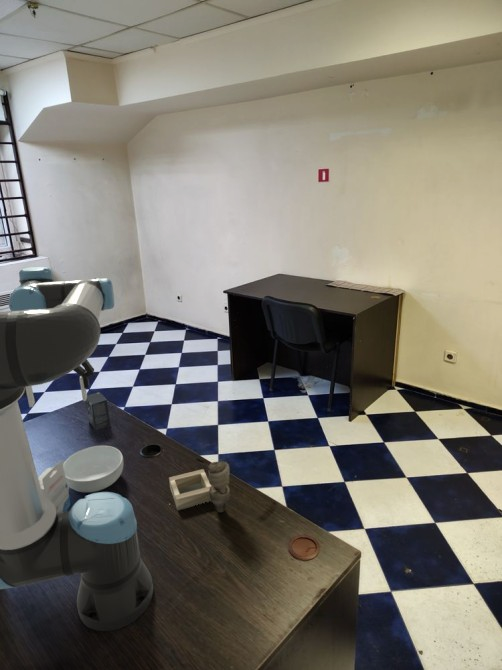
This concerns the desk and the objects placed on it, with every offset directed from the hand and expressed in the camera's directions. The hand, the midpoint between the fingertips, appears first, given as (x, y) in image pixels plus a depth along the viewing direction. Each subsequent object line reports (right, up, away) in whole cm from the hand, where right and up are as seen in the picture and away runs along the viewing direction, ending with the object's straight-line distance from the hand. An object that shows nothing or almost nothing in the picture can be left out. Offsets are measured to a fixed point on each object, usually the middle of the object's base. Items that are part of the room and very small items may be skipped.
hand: (58, 401), depth 122 cm
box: (-3, -14, +40) cm, 43 cm away
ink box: (+1, -29, -4) cm, 30 cm away
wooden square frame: (+36, -26, +2) cm, 44 cm away
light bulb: (+45, -28, -5) cm, 53 cm away
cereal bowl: (+7, -25, +8) cm, 27 cm away
